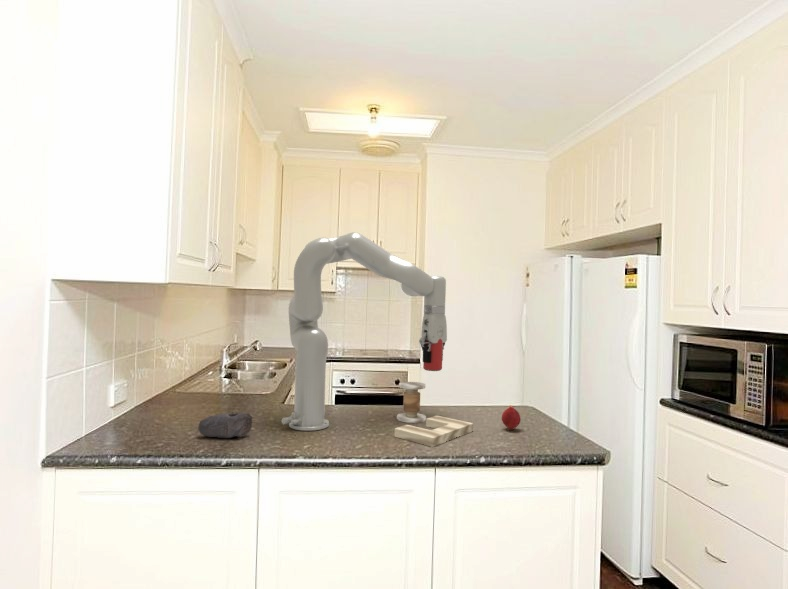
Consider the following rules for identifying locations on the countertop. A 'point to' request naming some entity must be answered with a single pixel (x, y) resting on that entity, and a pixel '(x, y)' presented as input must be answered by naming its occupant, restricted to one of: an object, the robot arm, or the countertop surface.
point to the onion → (511, 418)
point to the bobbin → (411, 403)
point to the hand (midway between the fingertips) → (432, 361)
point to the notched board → (434, 431)
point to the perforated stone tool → (226, 425)
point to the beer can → (435, 357)
